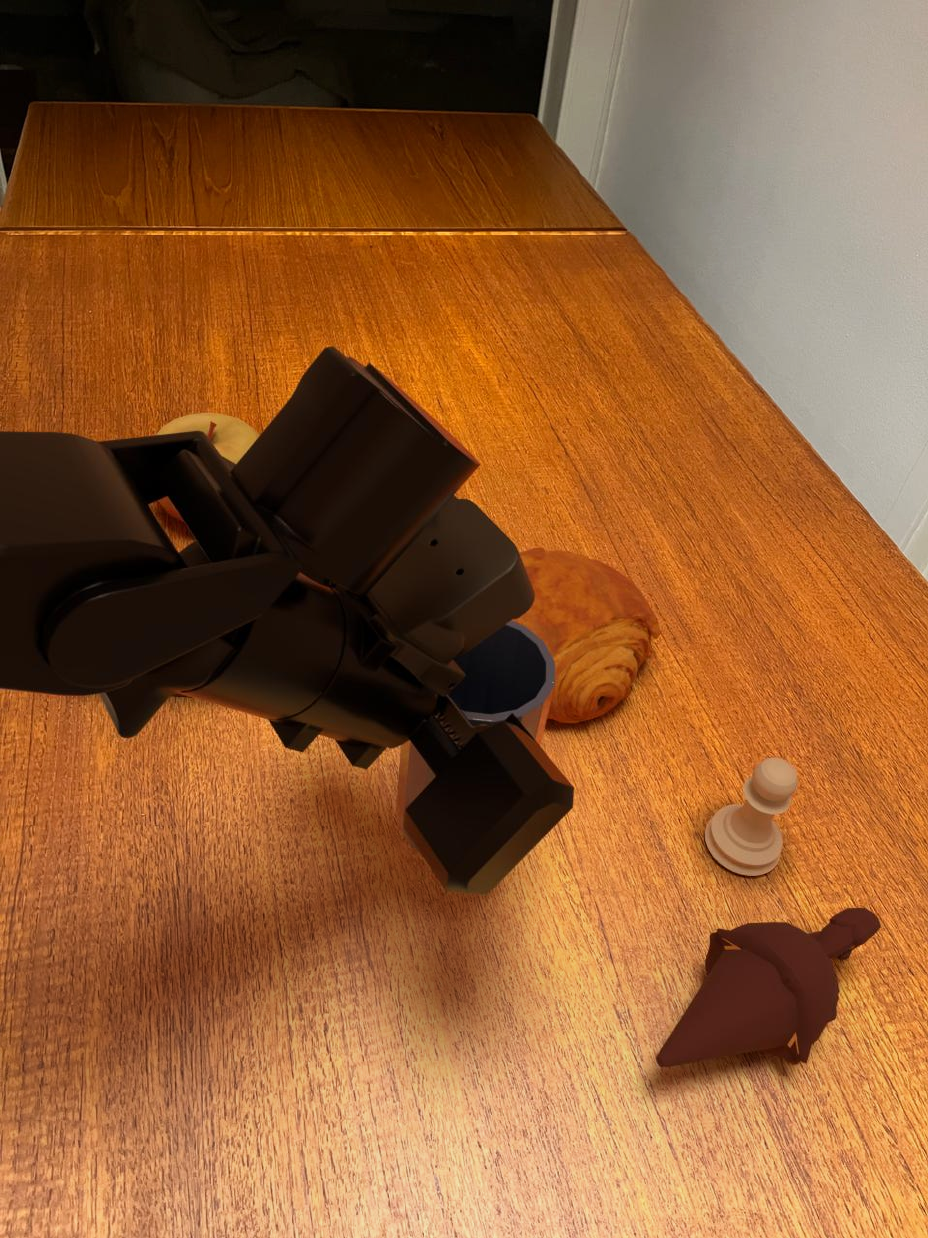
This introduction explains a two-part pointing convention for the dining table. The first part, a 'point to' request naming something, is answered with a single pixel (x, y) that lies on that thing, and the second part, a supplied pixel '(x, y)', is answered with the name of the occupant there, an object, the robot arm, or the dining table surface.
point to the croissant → (587, 630)
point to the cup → (489, 698)
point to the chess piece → (753, 821)
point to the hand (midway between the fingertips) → (493, 727)
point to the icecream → (767, 990)
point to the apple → (213, 439)
